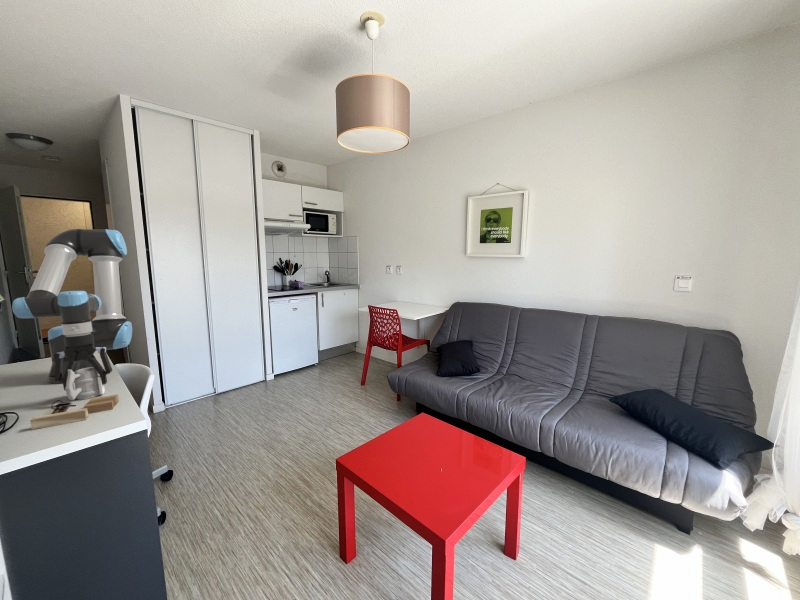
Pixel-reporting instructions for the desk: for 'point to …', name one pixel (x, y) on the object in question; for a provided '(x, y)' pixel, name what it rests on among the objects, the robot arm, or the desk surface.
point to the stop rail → (59, 418)
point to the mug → (82, 383)
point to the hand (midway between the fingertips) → (87, 395)
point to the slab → (102, 404)
